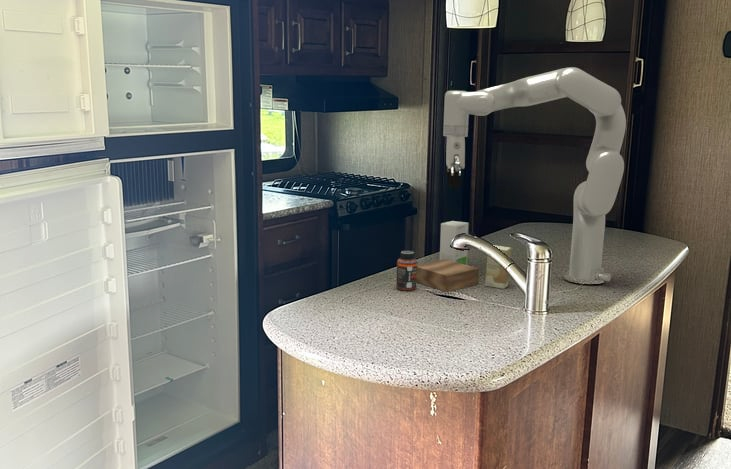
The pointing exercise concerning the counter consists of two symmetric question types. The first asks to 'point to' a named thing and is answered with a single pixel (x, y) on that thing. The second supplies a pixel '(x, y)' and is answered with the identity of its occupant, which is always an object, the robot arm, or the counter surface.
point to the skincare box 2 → (497, 271)
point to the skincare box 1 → (447, 235)
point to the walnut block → (447, 275)
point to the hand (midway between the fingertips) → (453, 186)
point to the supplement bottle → (406, 271)
